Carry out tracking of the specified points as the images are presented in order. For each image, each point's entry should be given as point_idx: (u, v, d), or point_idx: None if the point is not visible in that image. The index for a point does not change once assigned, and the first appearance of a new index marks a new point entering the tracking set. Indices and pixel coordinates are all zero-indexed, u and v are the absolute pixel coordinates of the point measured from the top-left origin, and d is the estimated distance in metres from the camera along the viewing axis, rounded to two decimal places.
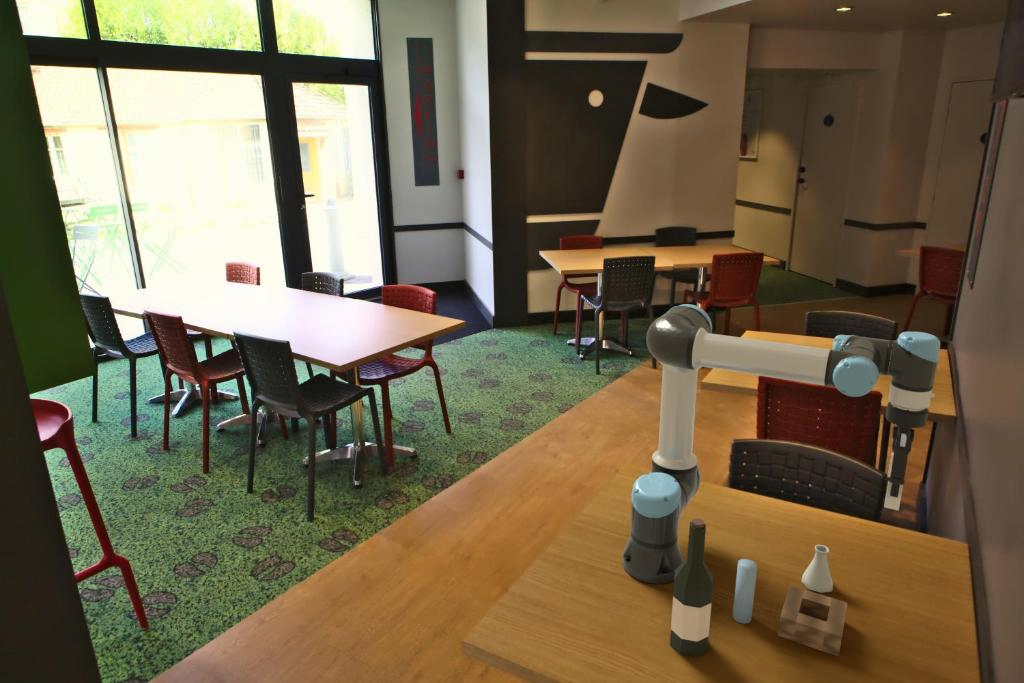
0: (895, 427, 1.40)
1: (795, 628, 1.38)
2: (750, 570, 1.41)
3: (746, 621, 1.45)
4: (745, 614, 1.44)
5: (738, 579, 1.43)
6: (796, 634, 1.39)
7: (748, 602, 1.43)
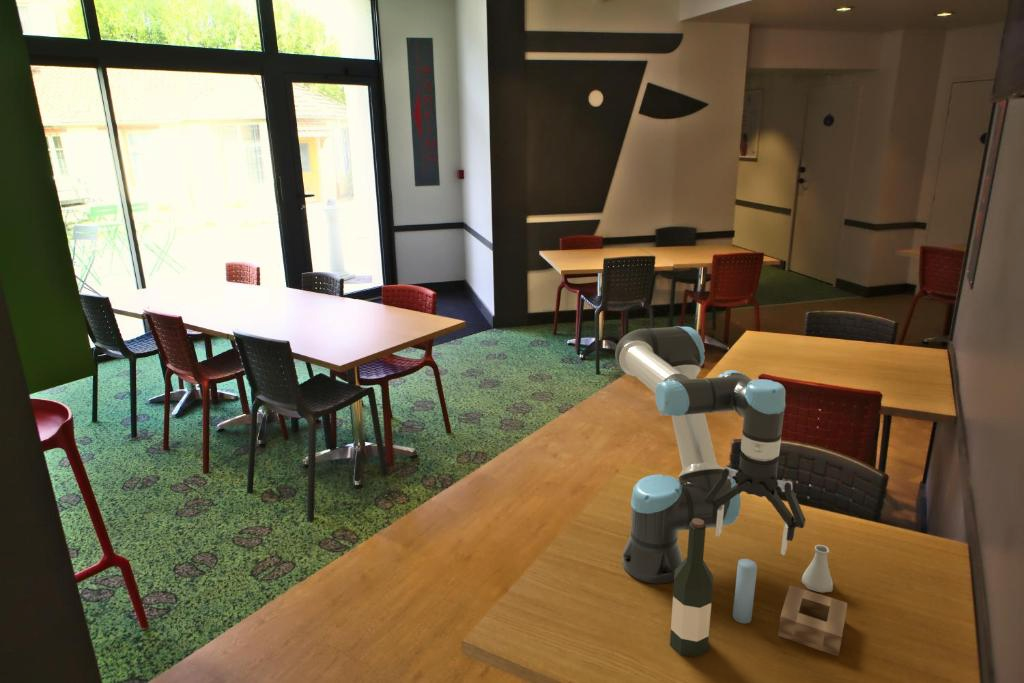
0: None
1: (795, 628, 1.38)
2: (750, 570, 1.41)
3: (746, 621, 1.45)
4: (745, 614, 1.44)
5: (738, 579, 1.43)
6: (796, 634, 1.39)
7: (748, 602, 1.43)
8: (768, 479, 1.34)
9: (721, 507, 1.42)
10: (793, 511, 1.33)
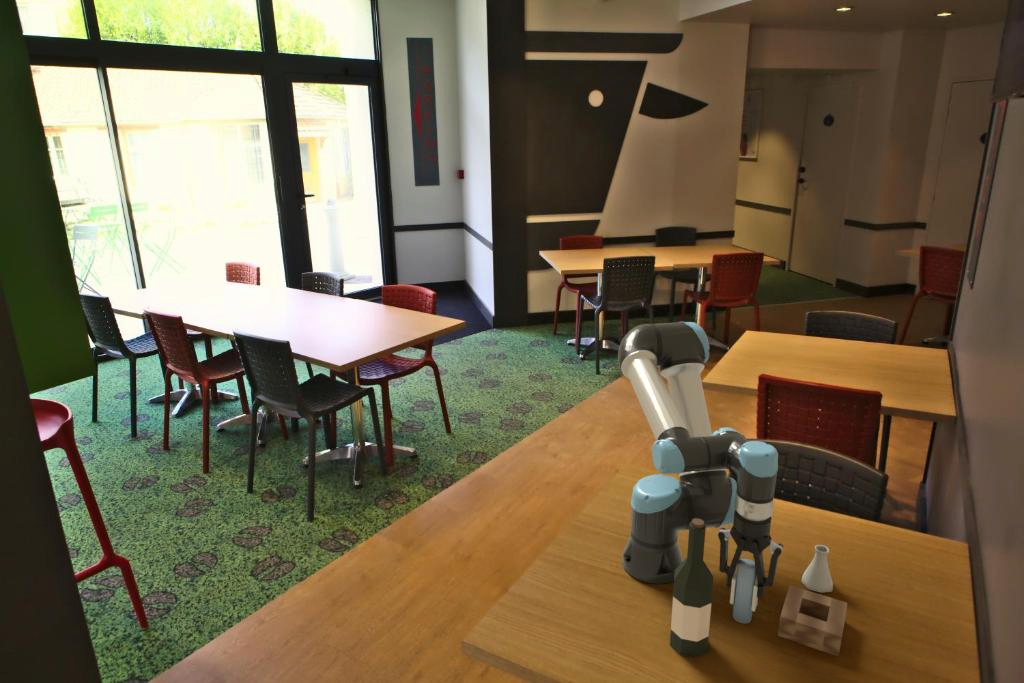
0: None
1: (795, 628, 1.38)
2: (750, 570, 1.41)
3: (746, 621, 1.45)
4: (745, 614, 1.44)
5: (738, 579, 1.43)
6: (796, 634, 1.39)
7: (748, 602, 1.43)
8: (764, 537, 1.38)
9: (735, 576, 1.45)
10: (770, 571, 1.39)
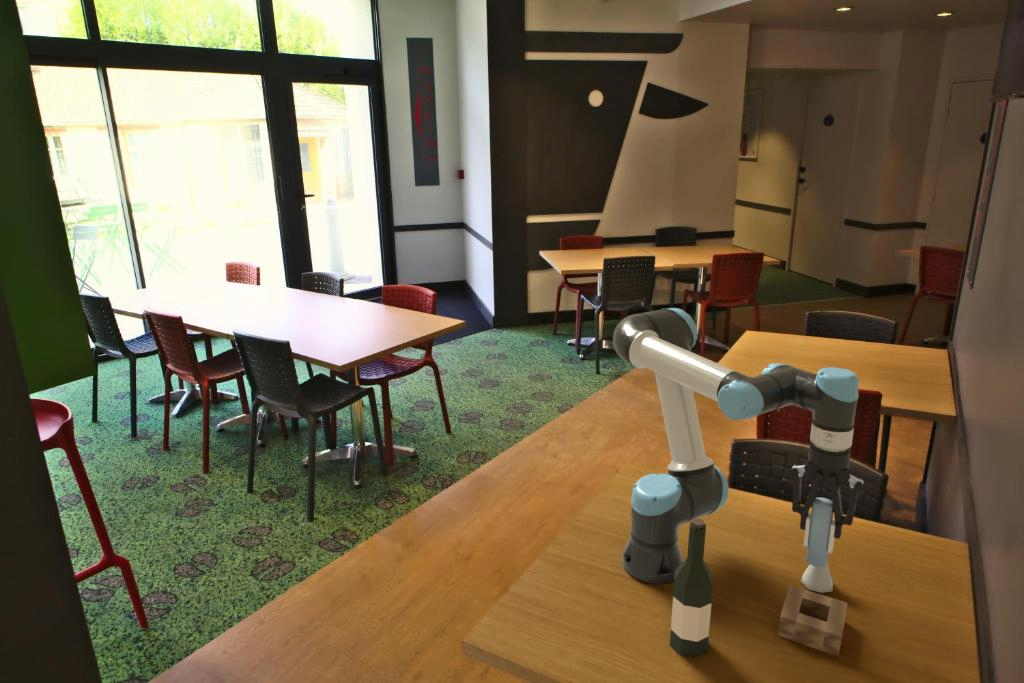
0: None
1: (795, 628, 1.38)
2: (827, 508, 1.31)
3: (821, 565, 1.35)
4: (821, 556, 1.35)
5: (813, 518, 1.34)
6: (796, 634, 1.39)
7: (825, 543, 1.34)
8: (843, 471, 1.29)
9: (810, 516, 1.36)
10: (849, 508, 1.30)
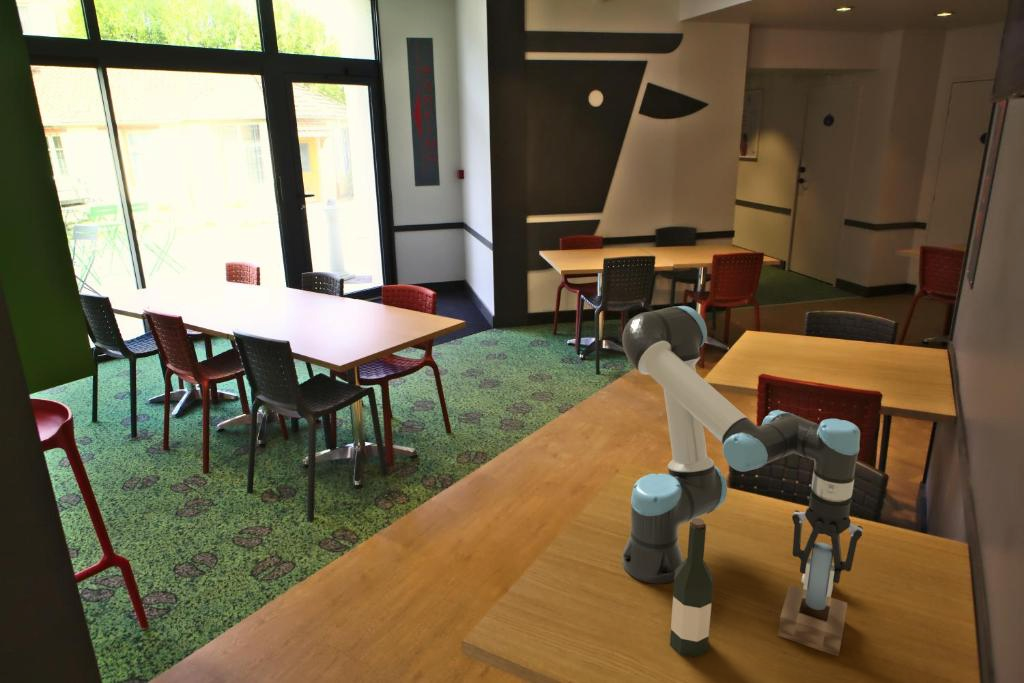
0: None
1: (795, 628, 1.38)
2: (827, 554, 1.35)
3: (820, 608, 1.39)
4: (820, 600, 1.38)
5: (813, 564, 1.37)
6: (796, 634, 1.39)
7: (824, 587, 1.37)
8: (843, 519, 1.32)
9: (809, 560, 1.39)
10: (849, 555, 1.33)
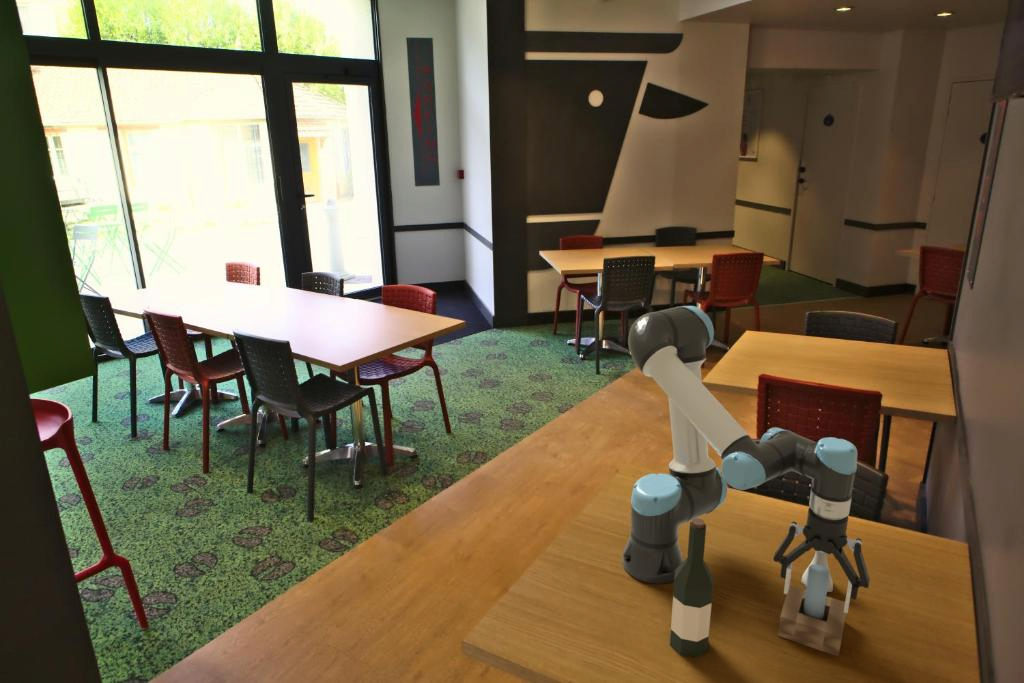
0: None
1: (795, 628, 1.38)
2: (823, 576, 1.37)
3: None
4: None
5: (809, 585, 1.39)
6: (796, 634, 1.39)
7: (820, 609, 1.39)
8: (838, 537, 1.33)
9: (790, 565, 1.42)
10: (860, 571, 1.33)
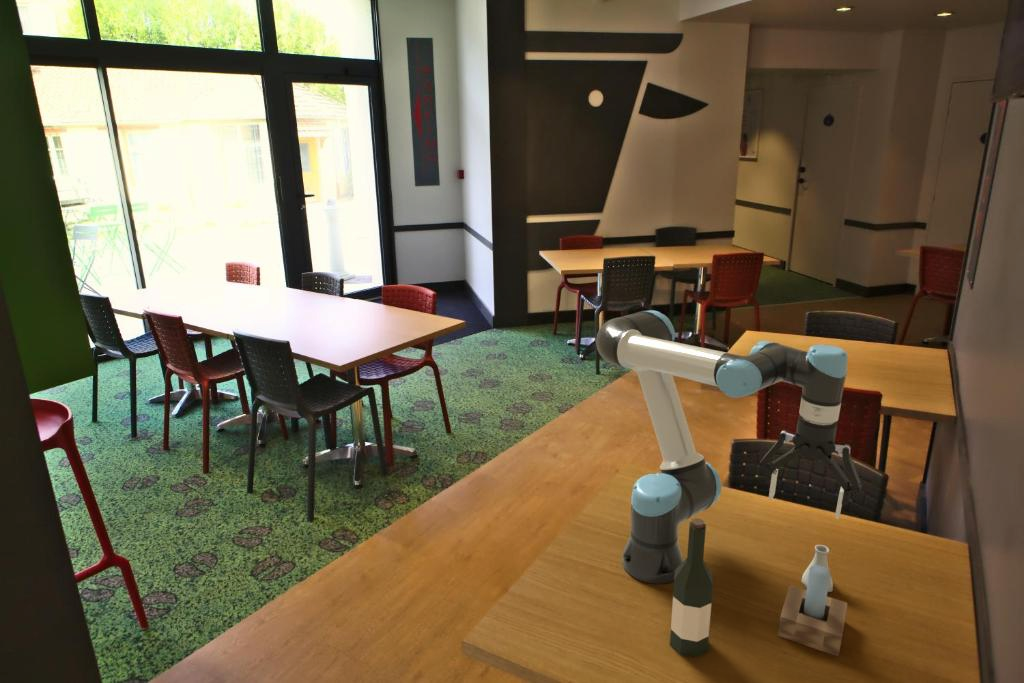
0: None
1: (795, 628, 1.38)
2: (824, 577, 1.36)
3: None
4: None
5: (810, 586, 1.39)
6: (796, 634, 1.39)
7: (820, 610, 1.39)
8: (826, 443, 1.35)
9: (775, 471, 1.44)
10: (850, 475, 1.34)
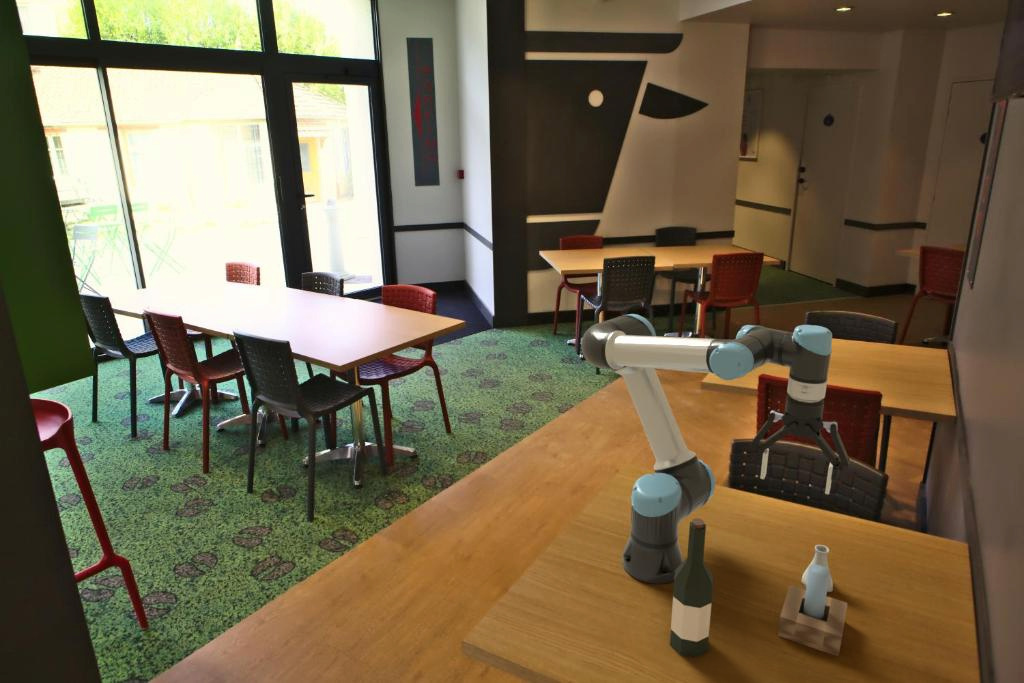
0: None
1: (795, 628, 1.38)
2: (823, 576, 1.37)
3: None
4: None
5: (809, 585, 1.39)
6: (796, 634, 1.39)
7: (820, 609, 1.39)
8: (814, 421, 1.40)
9: (766, 451, 1.48)
10: (838, 451, 1.39)
